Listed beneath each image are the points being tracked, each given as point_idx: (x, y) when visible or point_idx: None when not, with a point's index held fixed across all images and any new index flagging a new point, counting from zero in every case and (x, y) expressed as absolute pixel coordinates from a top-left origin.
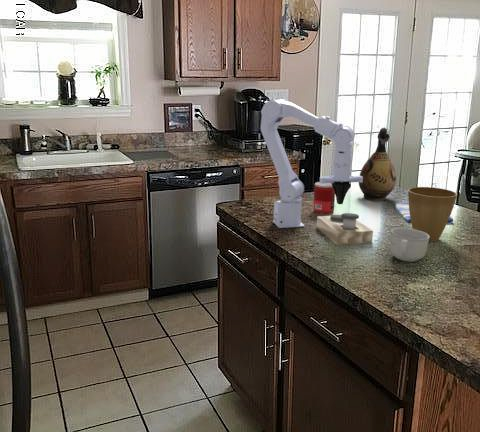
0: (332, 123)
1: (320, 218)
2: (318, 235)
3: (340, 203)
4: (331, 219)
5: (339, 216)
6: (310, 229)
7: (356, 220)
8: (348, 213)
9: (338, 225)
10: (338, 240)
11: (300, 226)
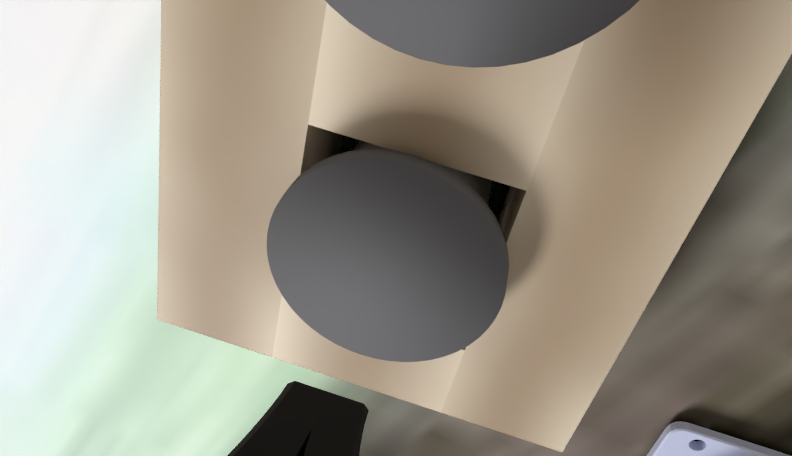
0: None
1: (589, 385)
2: (782, 140)
3: (334, 406)
4: None
5: (365, 278)
6: (676, 339)
7: (177, 102)
8: (399, 14)
9: None
10: None
11: (722, 434)
